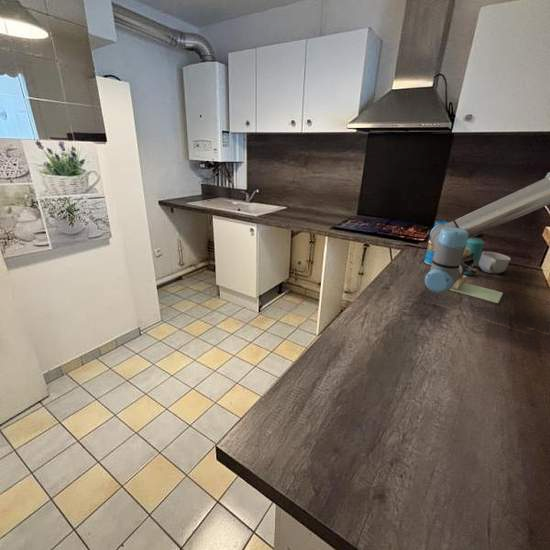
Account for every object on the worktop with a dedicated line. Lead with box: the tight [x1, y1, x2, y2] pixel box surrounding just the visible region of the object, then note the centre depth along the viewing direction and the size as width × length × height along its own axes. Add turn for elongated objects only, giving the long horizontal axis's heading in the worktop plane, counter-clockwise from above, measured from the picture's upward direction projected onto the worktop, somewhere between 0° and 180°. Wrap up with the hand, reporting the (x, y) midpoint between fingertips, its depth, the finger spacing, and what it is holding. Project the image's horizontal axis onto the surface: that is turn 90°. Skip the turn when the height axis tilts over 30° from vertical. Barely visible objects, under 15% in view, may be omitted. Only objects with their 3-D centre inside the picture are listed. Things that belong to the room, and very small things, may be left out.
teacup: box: [478, 251, 512, 275], centre depth 131 cm, size 14×11×8 cm
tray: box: [449, 282, 504, 304], centre depth 112 cm, size 18×12×1 cm, turn 47°
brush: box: [451, 248, 471, 290], centre depth 113 cm, size 4×10×15 cm, turn 134°
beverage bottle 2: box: [463, 232, 485, 276], centre depth 124 cm, size 6×7×20 cm
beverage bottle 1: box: [423, 221, 449, 266], centre depth 138 cm, size 8×8×20 cm
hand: (466, 254), depth 115 cm, fingers closed on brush, 3 cm apart
